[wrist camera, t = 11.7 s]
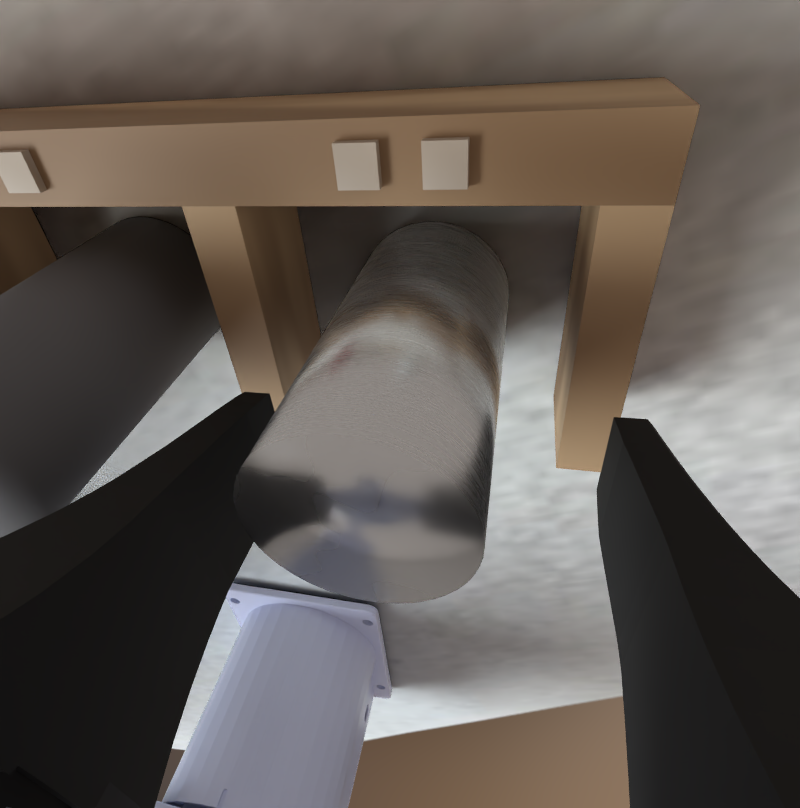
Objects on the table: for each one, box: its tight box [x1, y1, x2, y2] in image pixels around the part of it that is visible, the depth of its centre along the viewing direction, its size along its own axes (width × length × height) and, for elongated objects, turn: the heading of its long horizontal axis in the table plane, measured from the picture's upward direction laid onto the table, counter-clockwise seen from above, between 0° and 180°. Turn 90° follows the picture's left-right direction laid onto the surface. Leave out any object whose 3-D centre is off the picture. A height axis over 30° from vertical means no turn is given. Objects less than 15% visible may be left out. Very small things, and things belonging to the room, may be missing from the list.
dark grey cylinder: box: [0, 217, 221, 538], centre depth 13 cm, size 4×4×8 cm
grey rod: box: [233, 222, 509, 603], centre depth 11 cm, size 4×4×8 cm
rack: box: [0, 77, 700, 472], centre depth 13 cm, size 8×18×3 cm, turn 94°
